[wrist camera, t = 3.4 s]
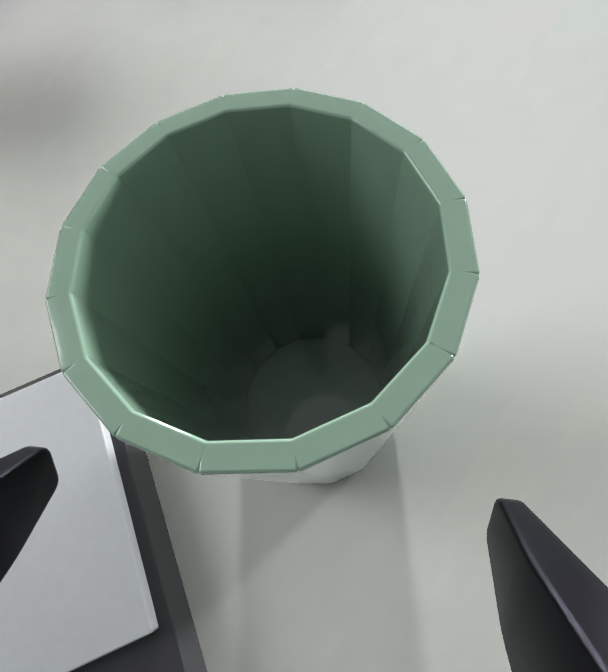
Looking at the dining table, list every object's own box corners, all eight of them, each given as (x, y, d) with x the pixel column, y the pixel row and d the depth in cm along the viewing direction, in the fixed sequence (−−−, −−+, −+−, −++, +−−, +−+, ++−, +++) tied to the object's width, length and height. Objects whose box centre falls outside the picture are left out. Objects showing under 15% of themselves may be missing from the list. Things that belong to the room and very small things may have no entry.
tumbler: (418, 443, 18) (573, 345, 6) (273, 510, 18) (101, 563, 5) (350, 312, 21) (354, 40, 8) (221, 369, 20) (16, 177, 8)
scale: (209, 678, 16) (187, 708, 14) (-90, 822, 16) (-164, 878, 13) (120, 361, 21) (93, 346, 19) (-111, 461, 20) (-167, 458, 18)
